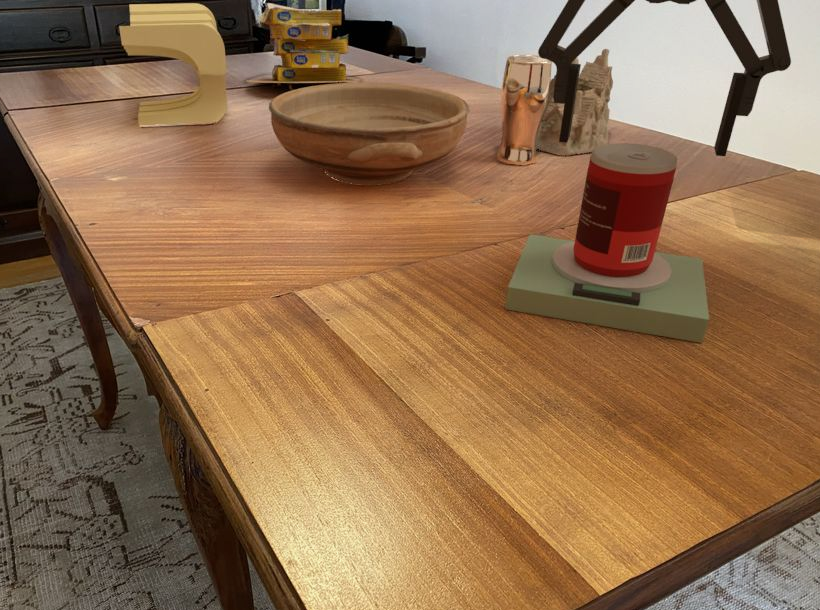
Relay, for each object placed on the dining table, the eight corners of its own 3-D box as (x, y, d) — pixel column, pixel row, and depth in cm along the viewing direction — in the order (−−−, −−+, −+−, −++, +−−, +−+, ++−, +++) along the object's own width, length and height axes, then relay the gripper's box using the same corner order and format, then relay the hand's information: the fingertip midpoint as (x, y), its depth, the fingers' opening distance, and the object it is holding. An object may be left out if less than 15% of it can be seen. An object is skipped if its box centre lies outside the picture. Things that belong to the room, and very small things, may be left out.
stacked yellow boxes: (254, 77, 165) (248, -2, 156) (360, 78, 165) (360, -2, 156) (240, 101, 144) (233, 11, 135) (361, 102, 144) (362, 12, 135)
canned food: (659, 257, 73) (687, 151, 67) (638, 286, 67) (666, 172, 61) (586, 240, 76) (606, 138, 71) (560, 266, 71) (579, 157, 65)
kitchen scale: (695, 279, 75) (703, 252, 74) (702, 343, 64) (711, 312, 63) (526, 254, 81) (530, 228, 79) (504, 309, 69) (508, 280, 68)
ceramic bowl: (266, 140, 120) (262, 78, 114) (430, 134, 123) (433, 74, 118) (280, 221, 89) (276, 141, 83) (498, 210, 92) (508, 133, 87)
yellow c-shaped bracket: (232, 136, 122) (222, 23, 112) (137, 141, 119) (118, 26, 110) (222, 97, 147) (214, 2, 137) (143, 101, 144) (129, 4, 134)
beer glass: (484, 159, 112) (495, 58, 104) (512, 150, 115) (524, 52, 108) (520, 169, 107) (534, 64, 99) (547, 160, 111) (563, 59, 103)
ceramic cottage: (554, 122, 130) (566, 35, 122) (627, 146, 119) (646, 53, 110) (491, 140, 123) (500, 49, 115) (563, 168, 112) (578, 70, 104)
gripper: (525, -130, 55) (498, 143, 66) (898, -139, 47) (796, 170, 59) (538, -126, 61) (511, 124, 72) (872, -134, 53) (784, 146, 65)
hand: (639, 145), depth 65 cm, fingers open, 13 cm apart
